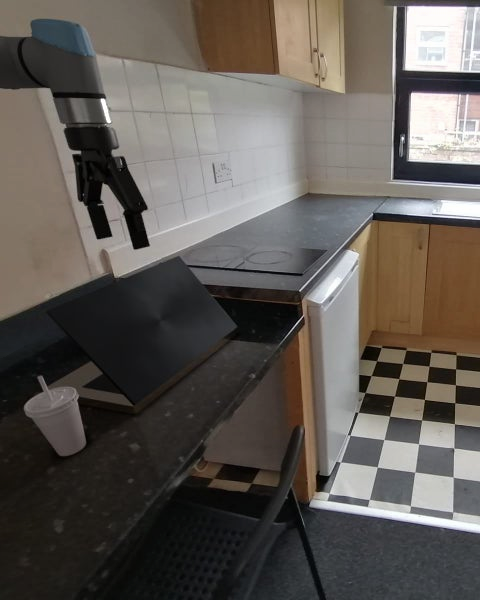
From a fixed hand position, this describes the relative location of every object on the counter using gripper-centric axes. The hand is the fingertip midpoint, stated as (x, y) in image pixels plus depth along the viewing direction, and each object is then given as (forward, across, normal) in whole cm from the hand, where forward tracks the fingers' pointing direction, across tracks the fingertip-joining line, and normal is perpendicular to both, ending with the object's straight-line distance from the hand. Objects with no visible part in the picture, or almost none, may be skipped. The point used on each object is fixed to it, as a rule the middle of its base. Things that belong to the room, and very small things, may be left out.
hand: (122, 242), depth 80 cm
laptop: (+26, -3, +2) cm, 26 cm away
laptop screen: (+16, -7, +1) cm, 17 cm away
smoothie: (+26, -16, +23) cm, 38 cm away
